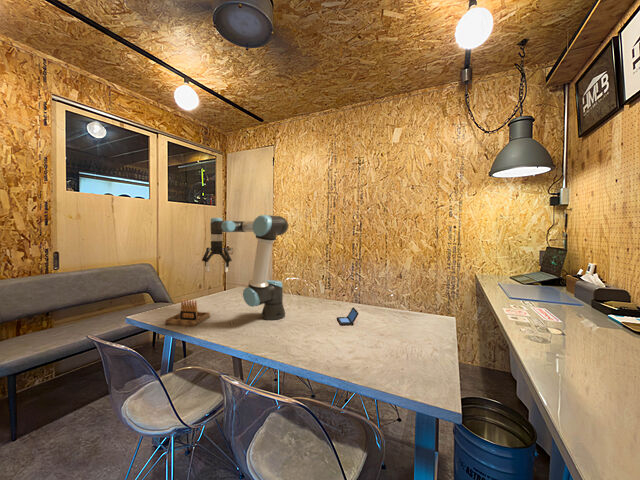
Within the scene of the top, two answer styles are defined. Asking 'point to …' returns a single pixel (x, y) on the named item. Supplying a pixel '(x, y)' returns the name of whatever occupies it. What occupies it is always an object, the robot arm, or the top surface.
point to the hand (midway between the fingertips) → (216, 271)
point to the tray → (181, 322)
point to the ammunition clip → (189, 310)
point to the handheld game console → (348, 318)
